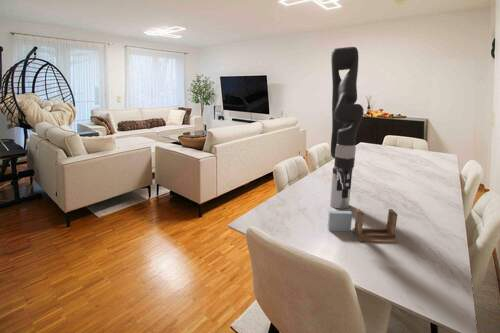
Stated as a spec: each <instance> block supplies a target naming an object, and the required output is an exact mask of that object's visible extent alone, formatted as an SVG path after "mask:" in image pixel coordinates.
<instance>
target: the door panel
mask: <svg viewBox="0 0 500 333" xmlns="http://www.w3.org/2000/svg"><path fill="white" fill-rule="evenodd" d="M327 215H328V218H327V230H328V231H329V232H351V231H352V222H353V212H352V211H351V210H328V214H327Z"/></svg>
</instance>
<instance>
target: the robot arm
mask: <svg viewBox="0 0 500 333" xmlns="http://www.w3.org/2000/svg"><path fill="white" fill-rule="evenodd" d="M330 60H331V63H330V64H331V76H332V77H331V78H332V82H331V83H332V92H331V93H332V94H331V96H332V99H331V117H332V118H331V119H332V121H331V122H332V123H331V126H332V127H331V138H330V141H331V142H330V156H331V157H332V158H333V159H334V164H333V168H332V175H331V176H332V178H331V188H330V189H331V191H330V204H329V205H330V206H331V207H333V208H335V209H339V210H343V209H345V210H346V209H348V208H349V207H350V201H351V200H350V199H351V188H352V178H353V171H354V167H355V161H356V160H355V158H356V142H357V133H358V129H359V126H360V124H361V122H362V119H363V117H364V114H365V112H364V110H365V109H364V108H363V106H362V104H359V103H357V100H358V87H357V83H358V72H359V50H358V48H357V47H355V46H346V47H336V48H333V49H332V52H331V59H330ZM344 70H345V71H346V70H348V71H347V73H346V74H345V75H344V76H343V78H341V75H340V71H344ZM348 123H351V125H350V126H348V127H346V125H347V124H348Z"/></svg>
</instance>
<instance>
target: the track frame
mask: <svg viewBox="0 0 500 333" xmlns="http://www.w3.org/2000/svg"><path fill="white" fill-rule="evenodd" d="M355 211H356V212H355V223H354V227H353V228H351V231H352V232H353V233H354V235H355V236H356V238H357V240H358V242H359V243H381V244H382V243H385V244H386V243H388V244H390V243H391V244H397V243H398V240H397V239H396V228H397V220H398V215H399V214H398V213H397V212H395V211H394V209H392V208H389V209H388V214H387V222H386V228H380V227H379V228H377V227H376V228H374V227H373V228H372V227H363V224H364V217H365V216H364V212H363V211H362V209H361V208H356V209H355Z"/></svg>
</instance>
